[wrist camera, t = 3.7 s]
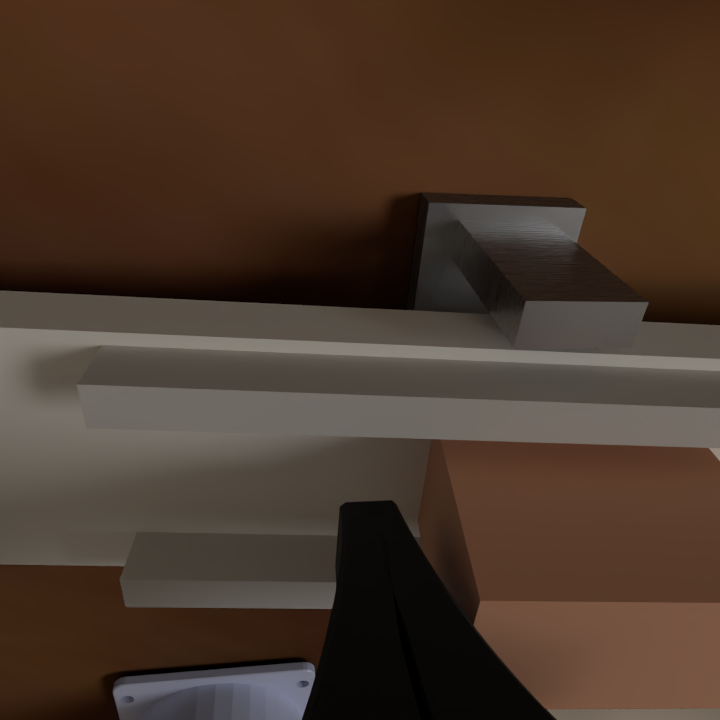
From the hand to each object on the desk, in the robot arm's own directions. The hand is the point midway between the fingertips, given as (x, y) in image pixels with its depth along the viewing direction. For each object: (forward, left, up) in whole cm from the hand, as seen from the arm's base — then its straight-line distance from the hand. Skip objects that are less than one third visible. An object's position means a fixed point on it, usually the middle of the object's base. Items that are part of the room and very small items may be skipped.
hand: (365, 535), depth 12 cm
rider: (0, -5, -2) cm, 5 cm away
